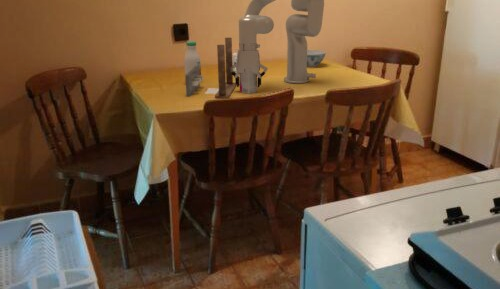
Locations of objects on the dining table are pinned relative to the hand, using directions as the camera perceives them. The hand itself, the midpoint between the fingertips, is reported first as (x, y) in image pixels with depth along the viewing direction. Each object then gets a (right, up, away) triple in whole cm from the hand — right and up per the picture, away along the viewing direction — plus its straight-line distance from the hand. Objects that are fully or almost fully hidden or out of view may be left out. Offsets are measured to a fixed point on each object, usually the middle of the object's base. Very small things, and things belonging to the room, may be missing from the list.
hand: (248, 86), depth 200 cm
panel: (-24, -2, +4) cm, 24 cm away
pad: (-14, -2, +3) cm, 14 cm away
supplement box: (0, -3, +1) cm, 3 cm away
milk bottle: (-27, +4, +20) cm, 34 cm away
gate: (-10, -2, +2) cm, 10 cm away
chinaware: (+36, +19, +55) cm, 69 cm away
